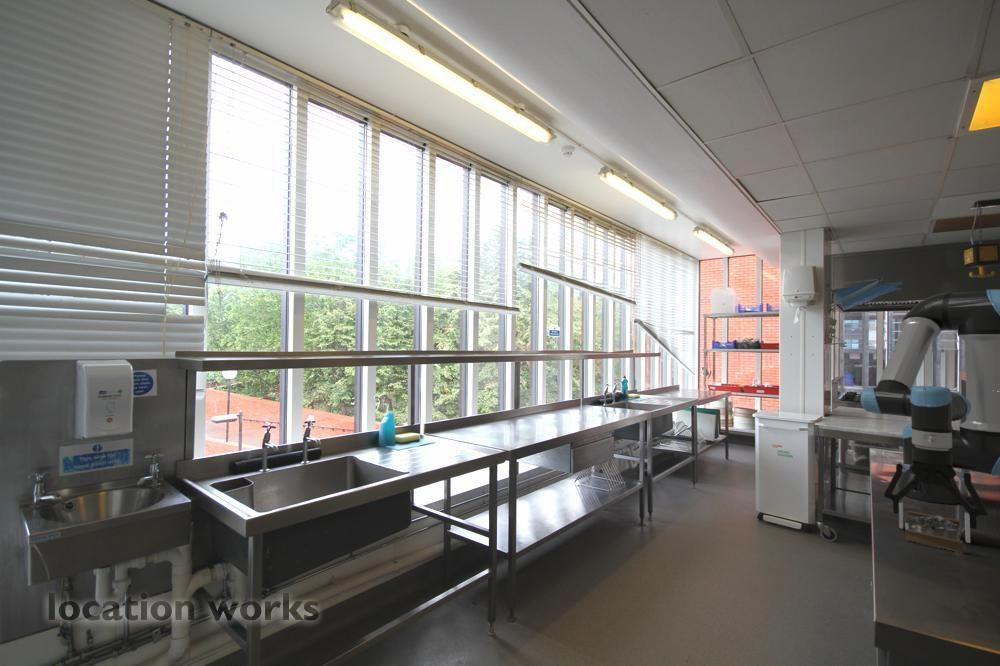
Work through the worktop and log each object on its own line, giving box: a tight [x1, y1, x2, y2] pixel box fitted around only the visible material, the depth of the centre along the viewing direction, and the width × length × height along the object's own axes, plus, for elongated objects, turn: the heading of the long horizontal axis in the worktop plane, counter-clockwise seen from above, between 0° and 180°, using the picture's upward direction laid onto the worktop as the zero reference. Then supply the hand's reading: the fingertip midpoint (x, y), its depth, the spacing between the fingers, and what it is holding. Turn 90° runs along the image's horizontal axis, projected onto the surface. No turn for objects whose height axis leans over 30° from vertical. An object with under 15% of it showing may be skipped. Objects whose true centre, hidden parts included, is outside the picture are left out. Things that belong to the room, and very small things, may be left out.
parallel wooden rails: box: [904, 510, 964, 554], centre depth 115 cm, size 19×10×2 cm, turn 137°
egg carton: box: [903, 514, 965, 539], centre depth 115 cm, size 11×8×4 cm
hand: (933, 533), depth 115 cm, fingers closed on egg carton, 11 cm apart
